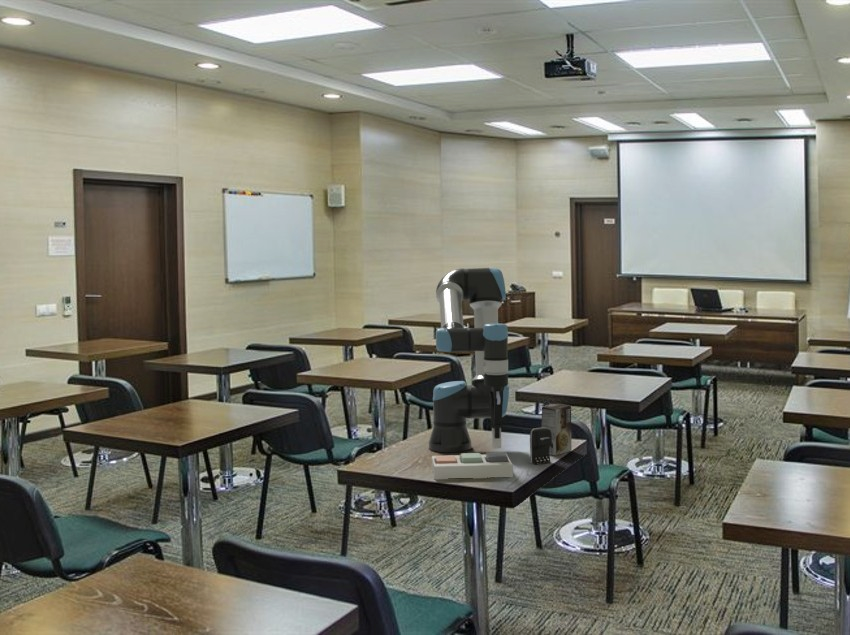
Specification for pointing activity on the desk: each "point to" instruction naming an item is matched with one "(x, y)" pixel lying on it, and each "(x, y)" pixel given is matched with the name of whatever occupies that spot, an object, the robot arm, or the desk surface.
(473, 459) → the key sage
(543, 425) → the coffee box
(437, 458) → the key terracotta
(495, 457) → the key charcoal
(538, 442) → the black rounded block
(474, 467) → the keypad
